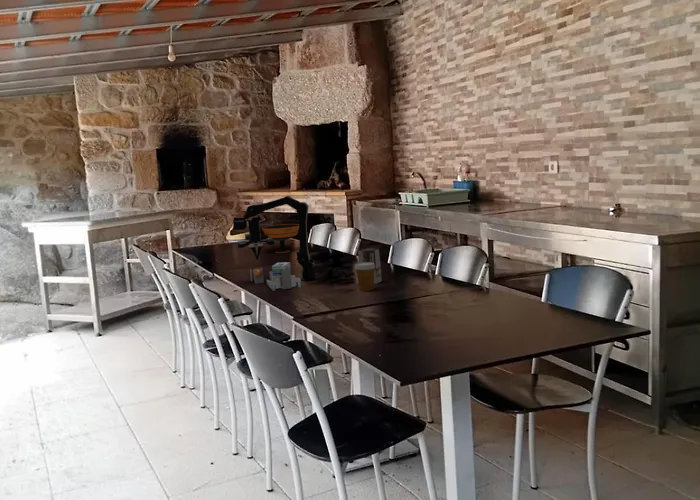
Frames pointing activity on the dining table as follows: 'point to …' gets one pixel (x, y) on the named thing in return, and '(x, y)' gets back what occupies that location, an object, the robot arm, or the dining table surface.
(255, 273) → the lever
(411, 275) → the dining table surface
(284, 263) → the light bulb box
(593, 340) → the dining table surface
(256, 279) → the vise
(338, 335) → the dining table surface
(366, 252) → the coffee box
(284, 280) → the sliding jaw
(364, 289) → the disposable coffee cup
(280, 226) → the cup
